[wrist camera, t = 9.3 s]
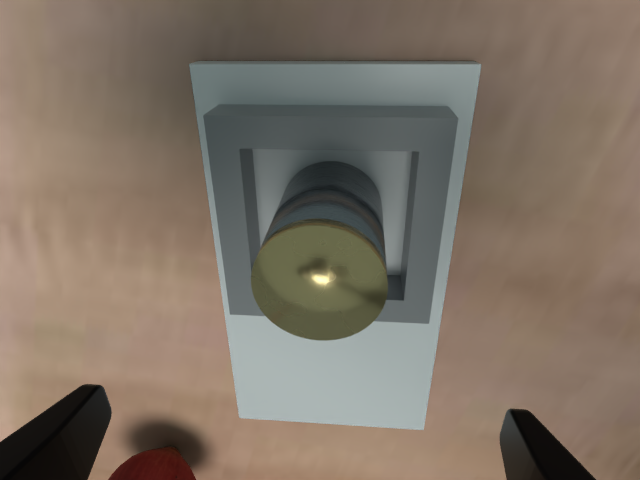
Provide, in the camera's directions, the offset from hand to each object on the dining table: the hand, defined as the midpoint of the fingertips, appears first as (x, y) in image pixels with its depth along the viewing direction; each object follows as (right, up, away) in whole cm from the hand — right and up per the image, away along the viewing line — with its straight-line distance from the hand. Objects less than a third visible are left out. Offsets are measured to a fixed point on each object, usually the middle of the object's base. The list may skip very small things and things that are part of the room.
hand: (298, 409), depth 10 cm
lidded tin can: (+1, +5, +9) cm, 11 cm away
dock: (+1, +2, +12) cm, 12 cm away
